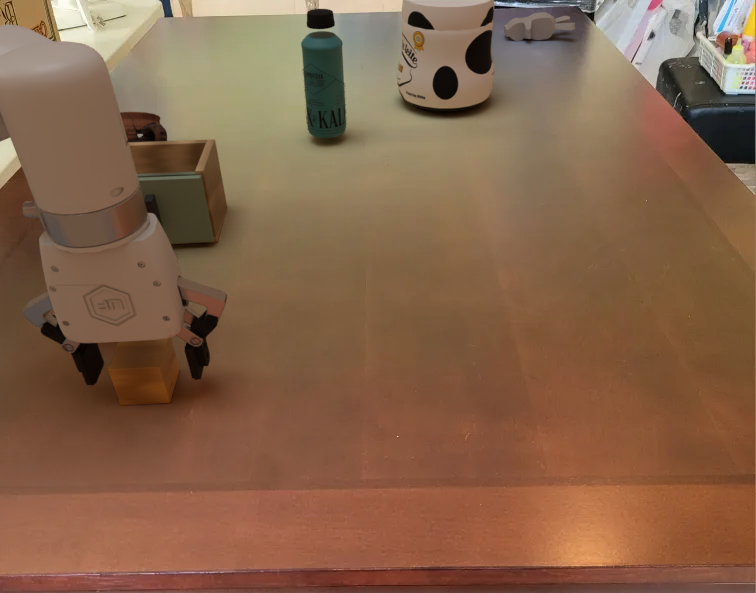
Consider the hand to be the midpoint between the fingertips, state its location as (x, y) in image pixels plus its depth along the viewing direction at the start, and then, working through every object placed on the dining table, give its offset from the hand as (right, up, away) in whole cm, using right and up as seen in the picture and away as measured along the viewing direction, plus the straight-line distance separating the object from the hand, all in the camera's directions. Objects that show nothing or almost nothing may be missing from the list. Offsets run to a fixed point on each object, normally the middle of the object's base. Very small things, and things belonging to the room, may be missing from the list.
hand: (148, 372), depth 61 cm
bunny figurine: (+58, +66, +89) cm, 125 cm away
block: (0, -2, +1) cm, 2 cm away
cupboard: (-7, +16, +25) cm, 31 cm away
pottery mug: (-15, +29, +43) cm, 54 cm away
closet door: (-3, +14, +20) cm, 24 cm away
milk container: (+34, +43, +59) cm, 80 cm away
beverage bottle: (+13, +33, +46) cm, 58 cm away
